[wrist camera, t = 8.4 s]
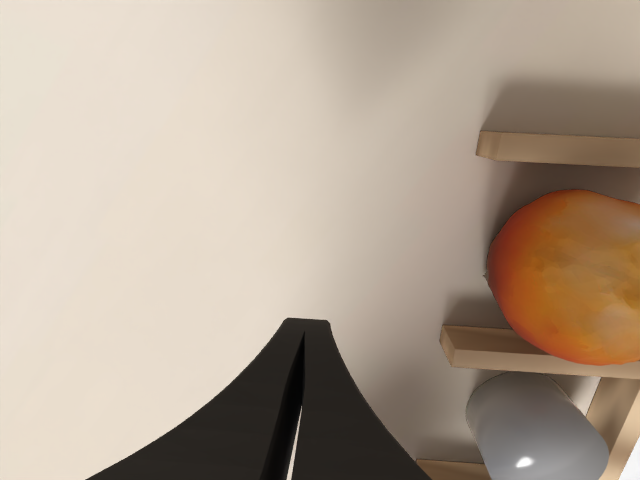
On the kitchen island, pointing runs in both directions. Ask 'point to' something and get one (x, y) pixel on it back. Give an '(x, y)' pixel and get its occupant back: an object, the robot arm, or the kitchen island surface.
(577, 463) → the grey round dome
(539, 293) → the fruit
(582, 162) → the wooden tray
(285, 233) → the kitchen island surface
